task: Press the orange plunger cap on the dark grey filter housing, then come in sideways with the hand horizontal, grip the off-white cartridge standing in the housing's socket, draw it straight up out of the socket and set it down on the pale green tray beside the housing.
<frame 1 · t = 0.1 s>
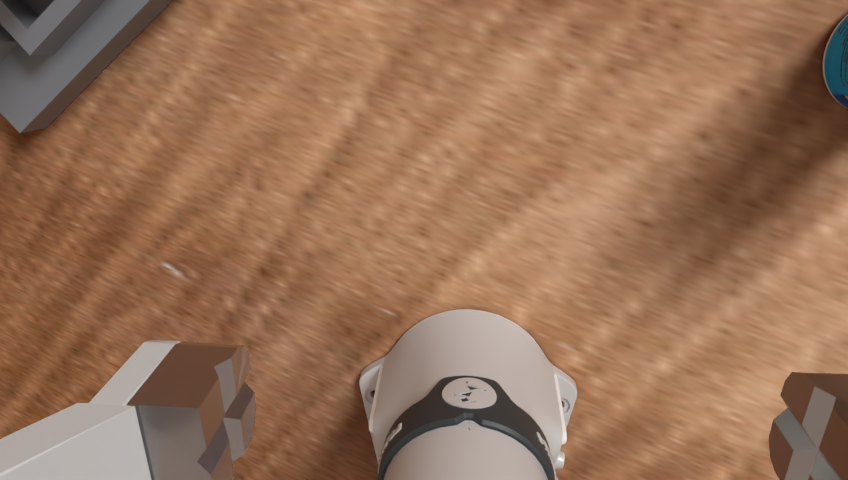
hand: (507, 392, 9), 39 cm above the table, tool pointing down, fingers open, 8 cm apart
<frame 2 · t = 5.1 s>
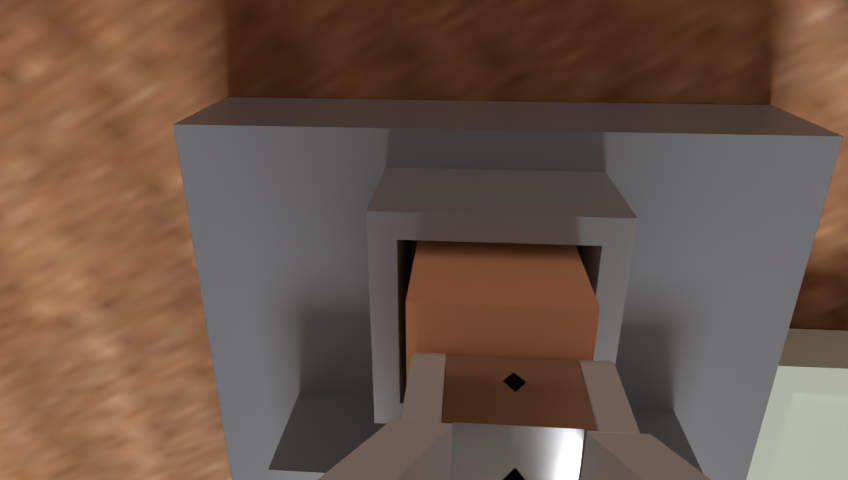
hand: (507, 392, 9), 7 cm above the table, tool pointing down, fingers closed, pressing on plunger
housing: (477, 403, 18), on the table
plunger: (493, 331, 11), point 6 cm above the table, slide at -0.2 cm, touching gripper
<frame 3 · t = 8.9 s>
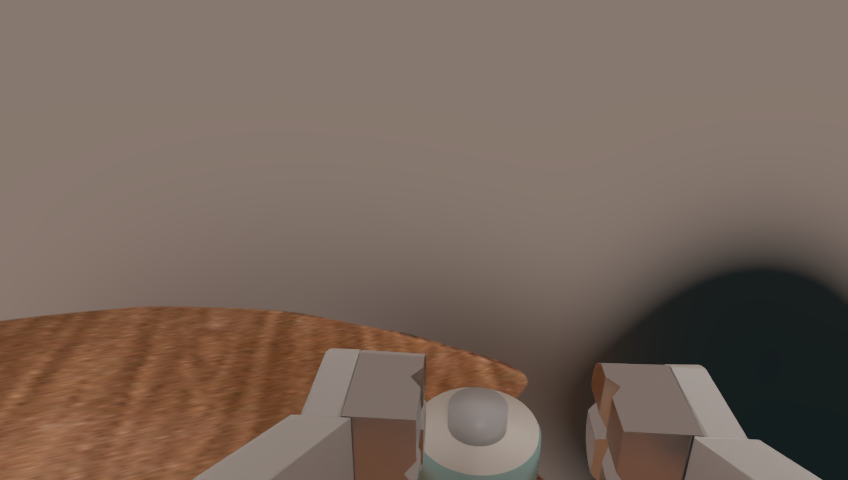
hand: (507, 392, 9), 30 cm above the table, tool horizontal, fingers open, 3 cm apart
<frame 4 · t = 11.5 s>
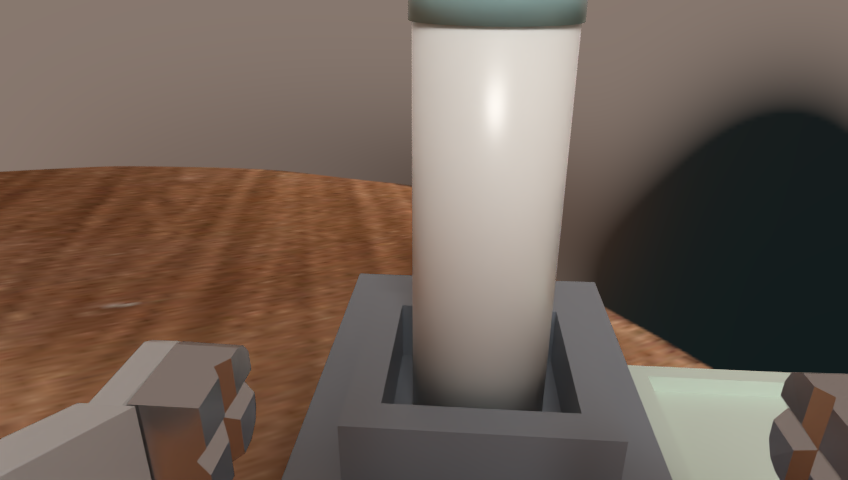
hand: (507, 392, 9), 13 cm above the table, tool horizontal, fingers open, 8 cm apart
housing: (473, 431, 27), on the table
cartridge: (476, 405, 24), point 3 cm above the table, touching housing
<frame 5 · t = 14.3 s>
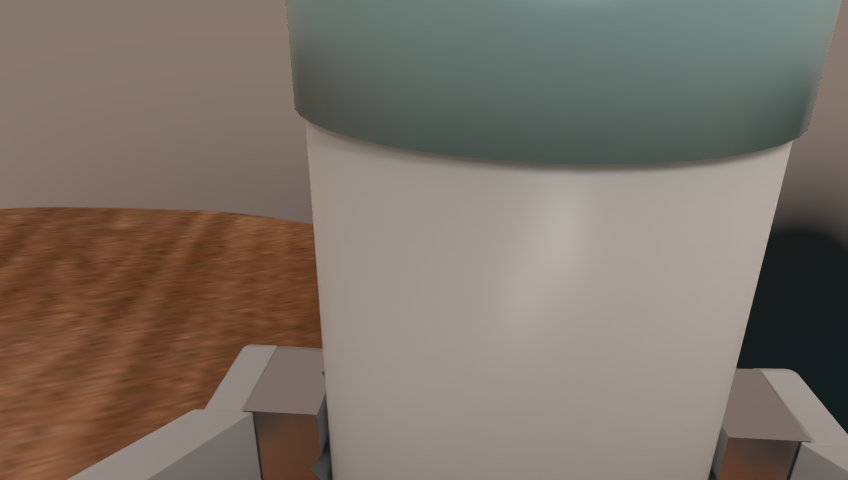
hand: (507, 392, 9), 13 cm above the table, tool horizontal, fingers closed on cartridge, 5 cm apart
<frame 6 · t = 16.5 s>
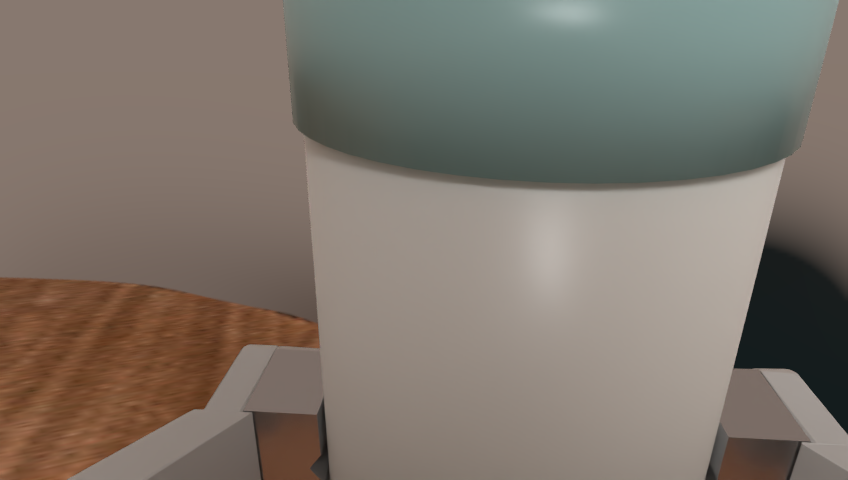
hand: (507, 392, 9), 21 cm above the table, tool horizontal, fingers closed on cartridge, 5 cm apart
when the fingers open (12 cm above the table, at t = 18.9 s): cartridge drops 1 cm, resting on tray.
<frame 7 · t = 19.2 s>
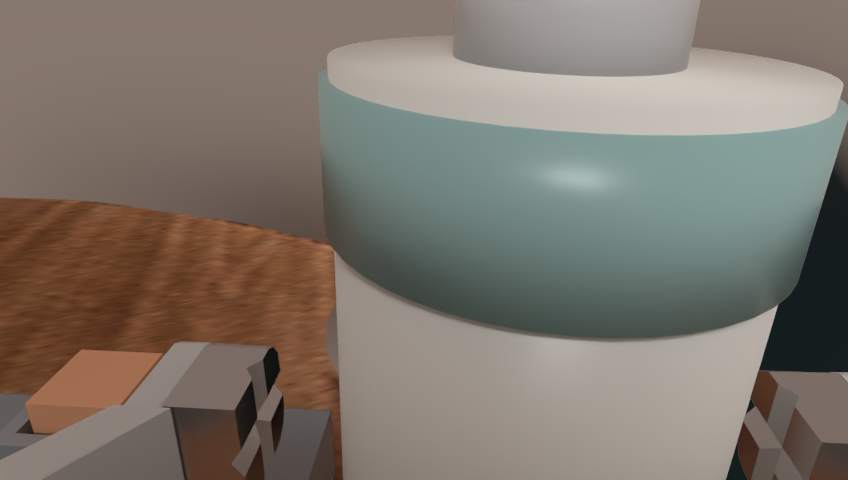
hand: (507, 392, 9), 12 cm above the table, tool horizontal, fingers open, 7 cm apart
plunger: (107, 415, 20), point 5 cm above the table, slide at -1.0 cm
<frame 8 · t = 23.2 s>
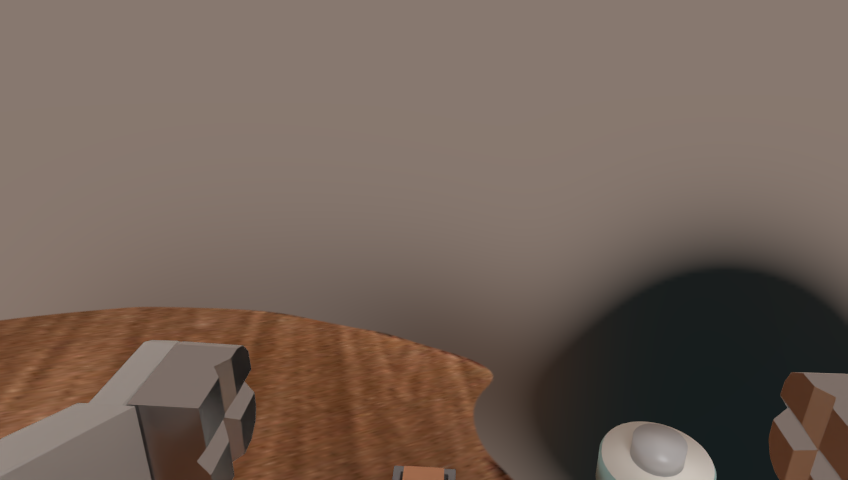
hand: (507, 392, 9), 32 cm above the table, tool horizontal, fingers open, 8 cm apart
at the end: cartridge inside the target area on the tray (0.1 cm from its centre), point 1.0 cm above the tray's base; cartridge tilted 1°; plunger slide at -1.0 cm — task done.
